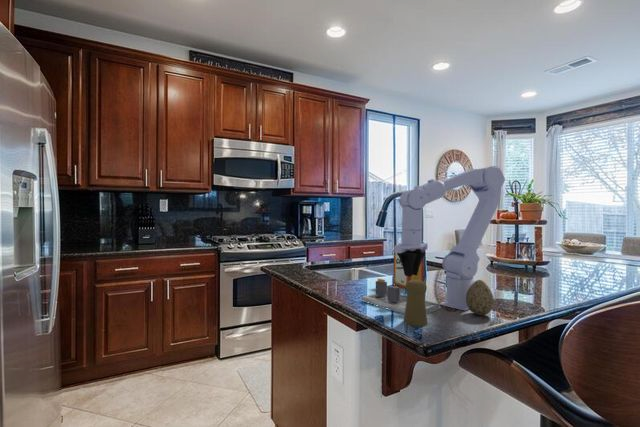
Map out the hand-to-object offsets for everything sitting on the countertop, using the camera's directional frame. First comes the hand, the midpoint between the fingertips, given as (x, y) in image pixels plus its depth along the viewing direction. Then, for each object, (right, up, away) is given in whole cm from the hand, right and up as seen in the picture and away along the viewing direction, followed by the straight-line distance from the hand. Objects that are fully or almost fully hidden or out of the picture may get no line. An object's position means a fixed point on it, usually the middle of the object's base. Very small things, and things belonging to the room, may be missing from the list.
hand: (410, 275), depth 101 cm
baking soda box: (+7, -10, +29) cm, 31 cm away
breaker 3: (-7, -8, +8) cm, 14 cm away
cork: (-2, -10, -12) cm, 16 cm away
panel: (-3, -10, +3) cm, 11 cm away
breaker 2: (-5, -8, +1) cm, 9 cm away
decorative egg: (+18, -11, -5) cm, 21 cm away
